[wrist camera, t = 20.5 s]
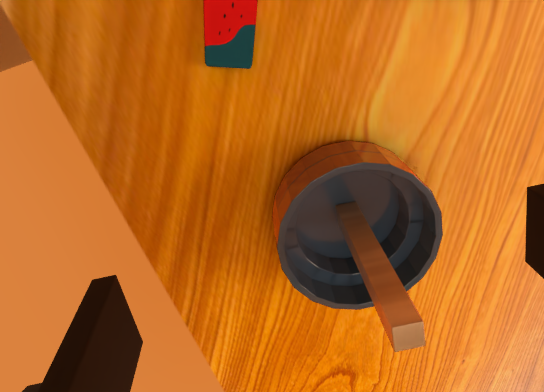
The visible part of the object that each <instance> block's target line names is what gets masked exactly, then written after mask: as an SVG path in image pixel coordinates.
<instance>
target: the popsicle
mask: <svg viewBox="0 0 544 392" xmlns="http://www.w3.org/2000/svg"><path fill="white" fill-rule="evenodd" d="M257 2H258V0H204V39H205V63H206V65H207V66H212V67H229V68H246V69H250V68H251V66H252V58H253V47H254V36H255V24H256V13H257Z"/></svg>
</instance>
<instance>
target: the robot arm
mask: <svg viewBox="0 0 544 392" xmlns="http://www.w3.org/2000/svg"><path fill="white" fill-rule="evenodd" d="M525 262H527V263H528V264H529V265H530V266H531V267H532V268H533V269H534V270H535V271H536V272H537V273H538V274H539V275H540V276H541V277H542V278H543V279H544V184H540V185H535V186H531V187H527V215H526V257H525ZM142 344H143V341H142V338H141V336H140V334H139V331H138V329H137V326H136V324H135V321H134V319H133V316H132V314H131V311H130V309H129V306H128V304H127V301H126V299H125V296H124V294H123V292H122V289H121V286H120V284H119V282H118V279H117V276H116V275H113V276H108V277H103V278H99V279H94V280H92V281H91V284H90V286H89V288H88V290H87V292H86V294H85V296H84V298H83V300H82V302H81V304H80V306H79V308H78V310H77V312H76V314H75V317H74V319H73V321H72V323H71V325H70V327H69V329H68V331H67V333H66V335H65V337H64V339H63V341H62V343H61V345H60V347H59V349H58V351H57V353H56V356H55V358H54V360H53V362H52V364H51V366H50V368H49V370H48V372H47V374H46V376H45V378H44V380H43V382H42V383H39V384H35V385H30V386H27V387H26V388H25V389H24V390H23V391H22V392H130V390H131V386H132V382H133V378H134V374H135V371H136V367H137V363H138V359H139V355H140V351H141V347H142Z"/></svg>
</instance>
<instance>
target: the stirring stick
mask: <svg viewBox="0 0 544 392" xmlns="http://www.w3.org/2000/svg"><path fill="white" fill-rule="evenodd" d="M335 207H336V213H337V220H338V224H339V226H340V229H341V231H342V233H343V235H344V238H345V240H346V242H347V245H348V247H349V249H350V251H351V254H352V256H353V258H354V261H355V263H356V265H357V267H358V270H359V272H360V274H361V276H362V279H363V281H364V283H365V286H366V288H367V290H368V292H369V295H370V297H371V299H372V302H373V304H374V306H375V308H376V311H377V313H378V315H379V317H380V320H381V322H382V324H383V327H384V329H385V331H386V333H387V336H388V338H389V340H390V342H391V345H392V347H393V349H394V351H395V352H398V351H403V350H407V349H412V348H417V347H422V346H425V335H424V323H423V320H422V318H421V316H420V315H419V313H418V311H417V309H416V308H415V306H414V304H413V302H412V300H411V299H410V297H409V295H408V293H407V292H406V290H405V288H404V286H403V285H402V283H401V281H400V279H399V277H398V276H397V274H396V272H395V270H394V269H393V267H392V265H391V263H390V262H389V260H388V258H387V256H386V254H385V253H384V251H383V249H382V247H381V246H380V244H379V242H378V240H377V239H376V237H375V235H374V233H373V231H372V230H371V228H370V226H369V224H368V223H367V221H366V219H365V217H364V216H363V214H362V212H361V210H360V208H359V207H358V205H357V203H356V201H354V202H349V203H345V204H340V205H336V206H335Z"/></svg>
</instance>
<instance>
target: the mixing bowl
mask: <svg viewBox="0 0 544 392" xmlns="http://www.w3.org/2000/svg"><path fill="white" fill-rule="evenodd" d="M354 201H356V203H357V205H358V207H359V208H360V210H361V212H362V214H363V216H364V217H365V219H366V221H367V223H368V224H369V226H370V228H371V230H372V231H373V233H374V235H375V237H376V239H377V240H378V242H379V244H380V246H381V247H382V249H383V251H384V253H385V254H386V256H387V258H388V260H389V262H390V263H391V265H392V267H393V269H394V270H395V272H396V274H397V276H398V277H399V279H400V281H401V283H402V285H403V286H404V288H405V290H406V292H407V291H408V290H409V289H410V288H411V287H413V286H414V285H415V284H416V283H417V282H418V281H419V280H421V279H422V277H424V275H425V274H426V272H427V271H428V269H429V268H430V266H431V265H432V263H433V262H434V260H435V259H436V256H437V253H438V249H439V246H440V242H441V239H442V235H443V233H442V216H441V211H440V208H439V206H438V204H437V202H436V200H435V198H434V195H433V193H432V191H431V190H430V189H429V188H428V187H427V186H426V185H425V184H424V183H423V182H422V181H421V180H420V179H419V178H418V177H417V176H416V175H415V174H414V173H413V172H412V170H411V169H410V168H409V167H408V166H407V165H406V164H405V163H403V162H402V161H401V160H400V159H399V158H398V157H397V156H396V155H395V154H394V153H393V152H391V151H389V150H387V149H384V148H382V147H380V146H378V145H375V144H373V143H367V142H356V141H344V142H339V143H335V144H330V145H325V146H322V147H320V148H319V149H317V150H315V151H313V152H311V153H310V154H308V155H306V156H304V157H302V158H301V159H300V160H299V161H298V162H297V163H296V164H295V165H294V166H293V167H292V168H291V169H290V171H289V172H288V173H287V174H286V175H285V176H284V178H283V180H282V182H281V184H280V186H279V188H278V190H277V192H276V194H275V198H274V206H273V213H272V220H273V226H274V232H275V238H276V245H277V250H278V254H279V259H280V263H281V267H282V270H283V272H284V273H285V275H286V276H287V278H288V279H289V281H290V282H291V284H292V285H293V287H294V288H295V289H297V290H298V291H299V292H301V293H302V294H303V295H305V296H306V297H308V298H309V299H310V300H312V301H314V302H316V303H319V304H322V305H325V306H328V307H331V308H335V309H355V310H358V309H363V308H368V307H373V306H374V304H373V302H372V299H371V297H370V295H369V292H368V290H367V288H366V286H365V283H364V281H363V279H362V276H361V274H360V272H359V270H358V267H357V265H356V263H355V261H354V258H353V256H352V254H351V251H350V249H349V247H348V245H347V242H346V240H345V238H344V235H343V233H342V231H341V229H340V226H339V224H338V220H337V213H336V207H335V206H336V205H340V204H345V203H349V202H354Z"/></svg>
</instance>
